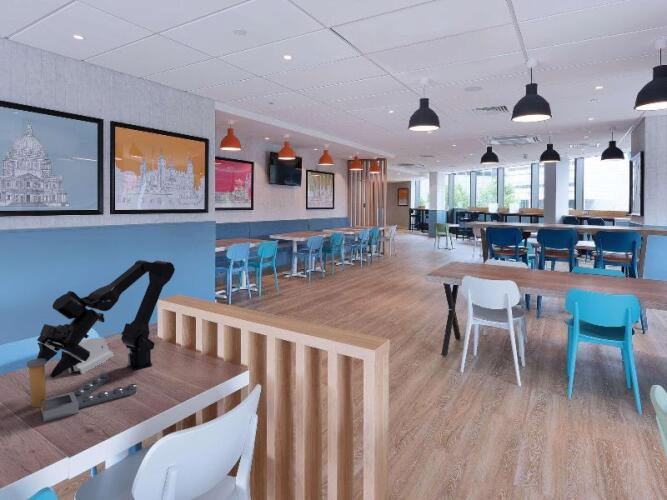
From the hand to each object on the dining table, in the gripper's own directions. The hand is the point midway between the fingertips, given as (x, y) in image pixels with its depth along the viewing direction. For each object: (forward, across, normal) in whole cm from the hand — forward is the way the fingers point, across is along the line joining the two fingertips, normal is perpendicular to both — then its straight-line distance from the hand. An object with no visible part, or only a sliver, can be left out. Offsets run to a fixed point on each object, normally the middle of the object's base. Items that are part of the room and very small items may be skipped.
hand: (42, 373), depth 119 cm
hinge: (-10, -16, +23) cm, 30 cm away
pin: (+7, 0, +5) cm, 9 cm away
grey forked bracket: (0, +6, +13) cm, 14 cm away
